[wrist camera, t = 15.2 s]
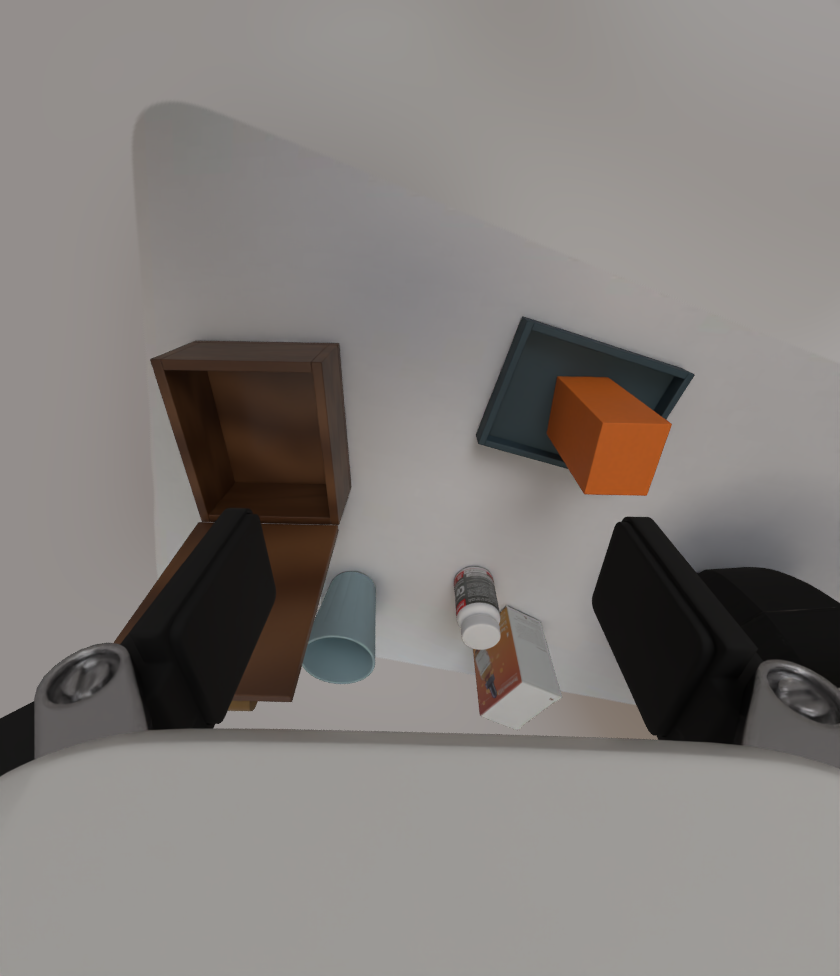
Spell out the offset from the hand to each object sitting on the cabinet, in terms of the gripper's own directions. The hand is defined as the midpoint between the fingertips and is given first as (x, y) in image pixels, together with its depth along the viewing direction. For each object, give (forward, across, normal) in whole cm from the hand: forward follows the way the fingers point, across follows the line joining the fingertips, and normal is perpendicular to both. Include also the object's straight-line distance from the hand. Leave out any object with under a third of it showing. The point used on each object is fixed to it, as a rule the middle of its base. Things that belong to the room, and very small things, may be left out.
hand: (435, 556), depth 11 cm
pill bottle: (+28, -6, +28) cm, 40 cm away
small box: (+28, -11, +36) cm, 47 cm away
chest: (+28, +14, +8) cm, 33 cm away
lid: (+13, +14, +15) cm, 25 cm away
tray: (+28, -13, +5) cm, 32 cm away
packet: (+28, -14, +5) cm, 31 cm away
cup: (+28, +9, +29) cm, 42 cm away
